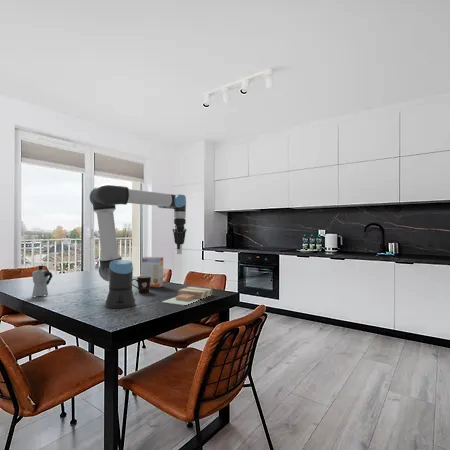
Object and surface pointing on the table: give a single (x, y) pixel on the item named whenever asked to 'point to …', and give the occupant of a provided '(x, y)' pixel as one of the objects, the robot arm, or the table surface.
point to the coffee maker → (41, 281)
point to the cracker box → (153, 270)
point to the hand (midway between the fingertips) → (179, 254)
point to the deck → (196, 292)
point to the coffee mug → (143, 283)
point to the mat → (179, 301)
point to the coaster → (185, 297)
